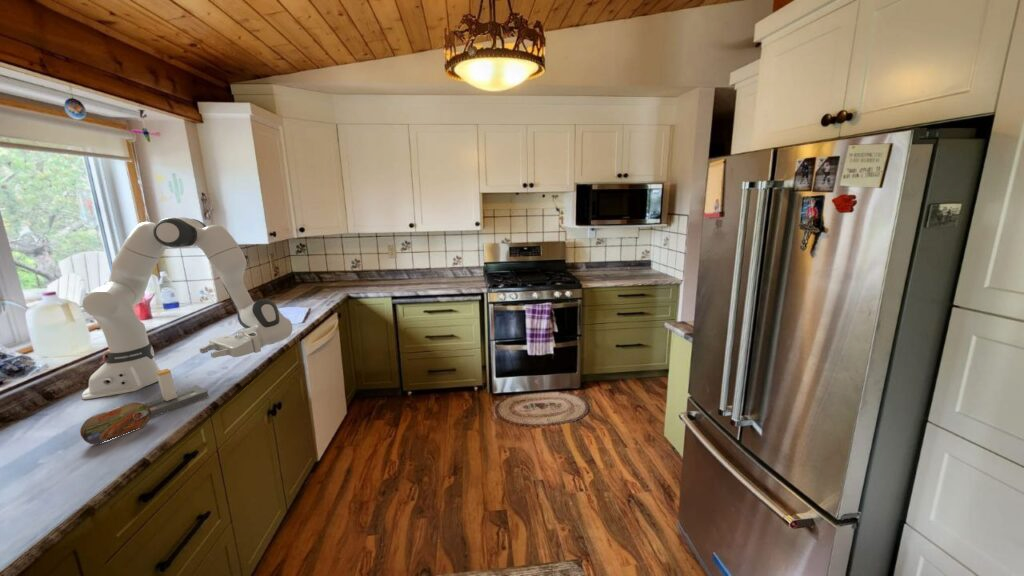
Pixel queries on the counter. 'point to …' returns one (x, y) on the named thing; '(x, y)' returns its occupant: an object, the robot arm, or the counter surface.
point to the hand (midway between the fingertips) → (206, 353)
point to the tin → (115, 422)
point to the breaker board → (176, 400)
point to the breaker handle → (166, 384)
